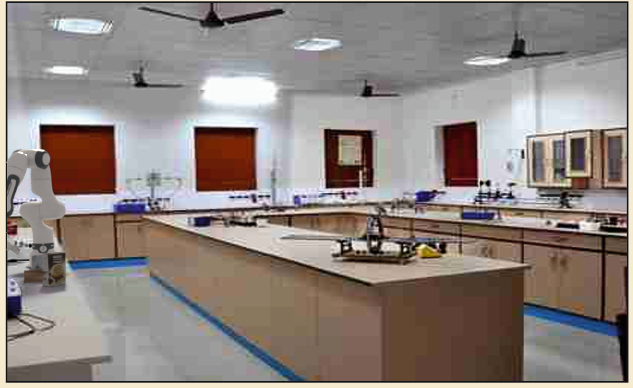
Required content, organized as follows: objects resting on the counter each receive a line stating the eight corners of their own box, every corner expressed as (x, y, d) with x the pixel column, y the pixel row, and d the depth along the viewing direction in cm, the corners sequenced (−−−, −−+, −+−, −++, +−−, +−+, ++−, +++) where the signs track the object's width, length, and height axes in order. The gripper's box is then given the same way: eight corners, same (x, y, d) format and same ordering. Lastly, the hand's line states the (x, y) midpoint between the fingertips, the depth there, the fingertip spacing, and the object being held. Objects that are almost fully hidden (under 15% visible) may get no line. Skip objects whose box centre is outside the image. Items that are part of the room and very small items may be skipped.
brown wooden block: (24, 279, 317) (24, 267, 317) (53, 277, 323) (53, 266, 323) (24, 282, 307) (23, 270, 307) (54, 280, 313) (53, 269, 313)
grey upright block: (31, 275, 330) (31, 255, 330) (43, 274, 332) (42, 254, 332) (31, 276, 325) (31, 256, 325) (43, 275, 327) (42, 255, 327)
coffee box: (49, 287, 296) (48, 254, 295) (42, 285, 299) (41, 253, 299) (66, 284, 303) (66, 252, 302) (59, 282, 307) (59, 251, 306)
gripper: (1, 232, 312) (22, 250, 316) (4, 229, 330) (24, 246, 335) (-9, 241, 310) (13, 259, 314) (-5, 237, 329) (15, 254, 333)
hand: (19, 252), depth 325 cm, fingers open, 8 cm apart
